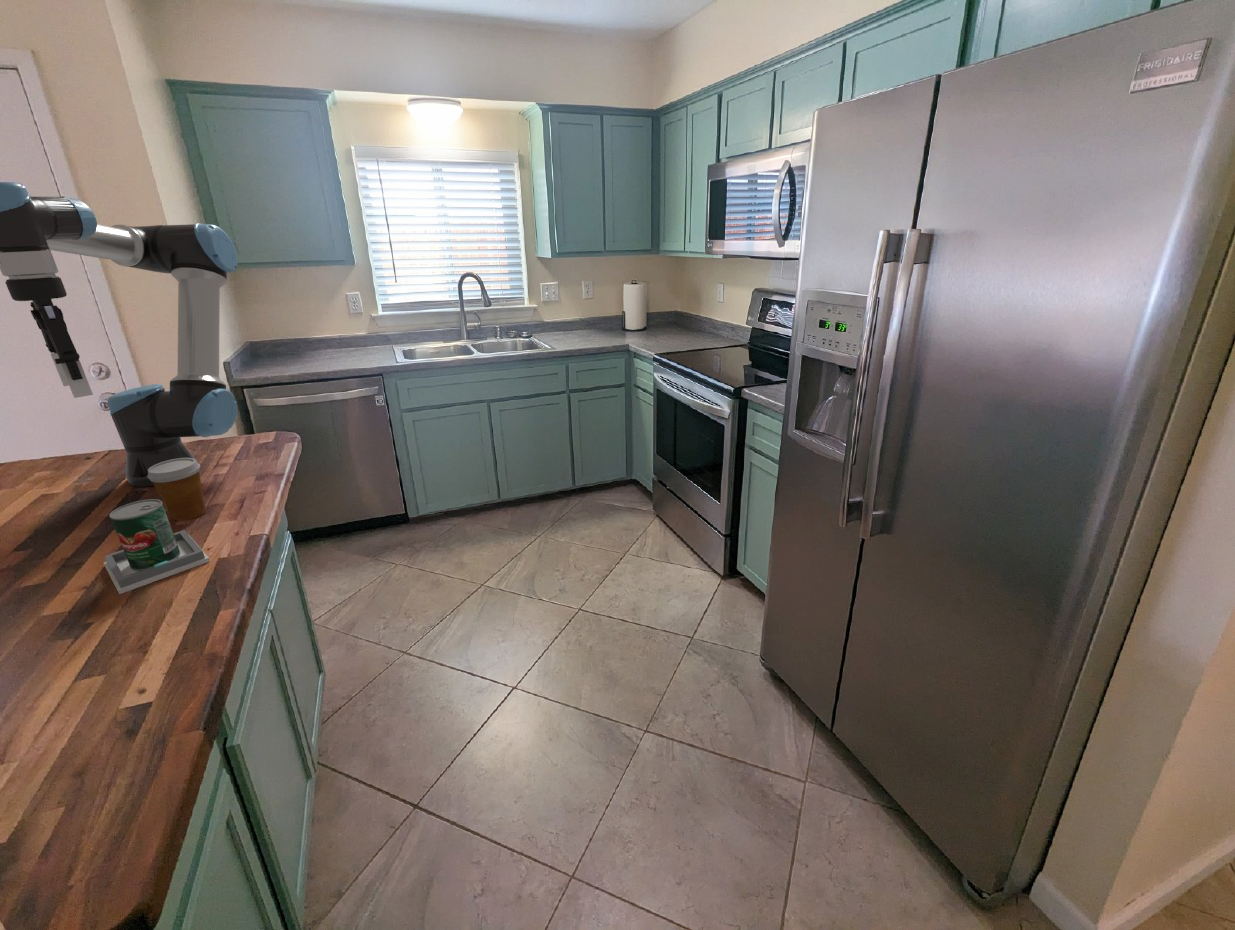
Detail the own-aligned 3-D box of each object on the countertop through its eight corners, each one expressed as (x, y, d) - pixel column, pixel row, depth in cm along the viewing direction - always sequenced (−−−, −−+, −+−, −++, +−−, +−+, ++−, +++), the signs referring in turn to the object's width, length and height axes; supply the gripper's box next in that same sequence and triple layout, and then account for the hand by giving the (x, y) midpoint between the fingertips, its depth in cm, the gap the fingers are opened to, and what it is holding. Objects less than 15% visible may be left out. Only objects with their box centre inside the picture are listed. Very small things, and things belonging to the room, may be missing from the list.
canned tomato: (126, 575, 107) (103, 522, 103) (134, 556, 114) (114, 505, 110) (178, 563, 111) (158, 511, 106) (183, 545, 117) (165, 495, 113)
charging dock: (104, 566, 112) (100, 555, 111) (190, 537, 122) (186, 527, 121) (119, 594, 103) (114, 582, 102) (210, 561, 113) (206, 550, 112)
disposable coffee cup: (189, 525, 127) (171, 475, 122) (152, 522, 128) (133, 472, 124) (224, 506, 135) (208, 457, 130) (190, 503, 137) (173, 455, 132)
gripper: (-2, 275, 111) (44, 384, 120) (9, 281, 96) (61, 406, 104) (50, 272, 116) (91, 376, 125) (69, 277, 101) (114, 396, 109)
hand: (78, 390), depth 114 cm, fingers open, 13 cm apart
